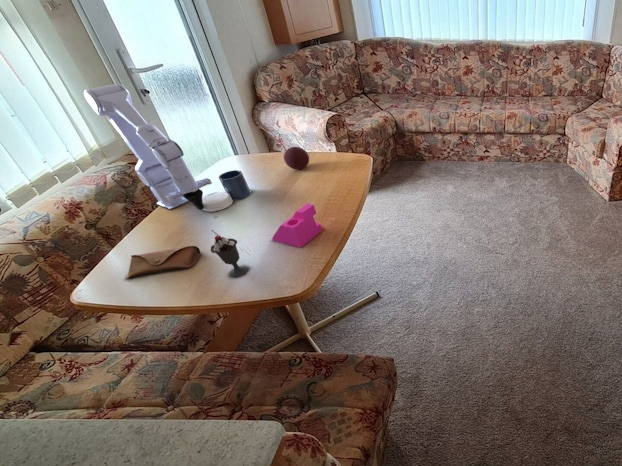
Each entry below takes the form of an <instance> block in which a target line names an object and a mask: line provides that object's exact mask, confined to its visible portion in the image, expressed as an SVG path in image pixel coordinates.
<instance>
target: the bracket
mask: <svg viewBox="0 0 622 466" xmlns="http://www.w3.org/2000/svg"><path fill="white" fill-rule="evenodd" d="M315 215H317V210H316V207H315V204H312V203H306V204H305V205H303V206H302V207H300V208H299V209H297V210H296V211H295V213H294V214H293V215H292V216H291V217H290V218H289V219H287V220H286V221H284V222H283V223H281V225H279V227H278V229H276V231H275V233H274V235H273V236H272V238H271V240H272V241H273V242H278V243H282V244H285V245H290V246H294V247H299V248H303V247H304V246H305V245H306V244H308V243H309V242H310V241H311V240H313V239H314V238H315V237H316V236H317V235H319V234H320V233H321V232H322V231H324V229H323V226H322V224H321V223H320V222H319V223H318V222H316V220H315V217H314V216H315Z"/></svg>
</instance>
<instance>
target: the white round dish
mask: <svg viewBox="0 0 622 466" xmlns="http://www.w3.org/2000/svg"><path fill="white" fill-rule="evenodd" d="M233 202H234V200H232V199H231V196H230V194H229V193H227V192H226V191H215V192H212V193H209V194H207V195H204V196H202V203H203V207H204V209H202V210H203V211H205V212H208V213H214V212H219V211H222V210H224V209H227V208H229V207H230V206H231V205H232V204H233Z"/></svg>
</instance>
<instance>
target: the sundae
mask: <svg viewBox="0 0 622 466" xmlns="http://www.w3.org/2000/svg"><path fill="white" fill-rule="evenodd" d="M211 232H212V233H214V234H215V236H214V242H213V245H211V246H210V252H211V253H212V254H216V255H217V256H218V257H219V259H220V260H221V261H222V262H223V263H224V264H226V265H231V266H232V267H233V269H232V270H231V271H230V272H229V277H231V278H238V277H241V276H243V275H245V274H246V273H247V272H248V271H249V267H248V266H245V265H239V264H238V262H239V260H240V253H239V250H238V247H237V244H238V240H236V239H235V238H227V237H223V236H221V235H220V234H218V233H217V232H216V231H214V230H213V229H211Z"/></svg>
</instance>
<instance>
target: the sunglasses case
mask: <svg viewBox="0 0 622 466" xmlns="http://www.w3.org/2000/svg"><path fill="white" fill-rule="evenodd" d="M200 257H201V249H200V248H199V247H198V246H196V245H189V246H184V247H179V248H171V249H163V250H159V251H153V252H148V253H147V252H146V253H142V254H132V255H130V262H129V269H128V273H127V275H126V278H125V279H127V280H128V279H132V278H137V277H141V276H142V277H143V276H148V275H154V274H161V273H166V272H167V273H168V272H173V271H178V270H184V269H188V268H189V269H190V268H191V267H194V265H195V264H196V262H197V261H198V260H199V258H200Z"/></svg>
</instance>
